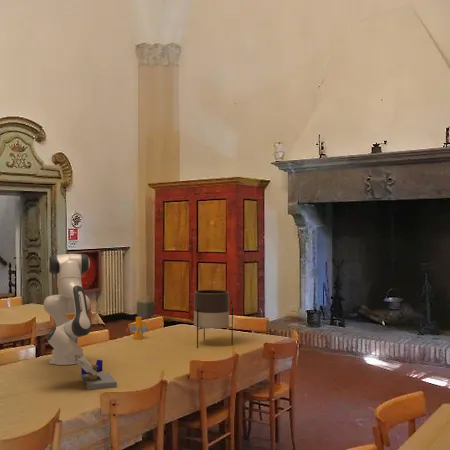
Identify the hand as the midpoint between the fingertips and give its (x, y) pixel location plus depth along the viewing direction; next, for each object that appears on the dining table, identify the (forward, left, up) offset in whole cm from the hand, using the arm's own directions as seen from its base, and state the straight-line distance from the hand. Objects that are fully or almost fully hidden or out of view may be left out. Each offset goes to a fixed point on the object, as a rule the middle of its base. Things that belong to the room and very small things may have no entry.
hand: (93, 372), depth 296 cm
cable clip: (-21, +3, -6) cm, 22 cm away
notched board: (0, +2, -6) cm, 6 cm away
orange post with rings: (-105, +49, -6) cm, 116 cm away
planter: (-68, +89, -6) cm, 112 cm away
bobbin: (0, -1, -6) cm, 6 cm away
